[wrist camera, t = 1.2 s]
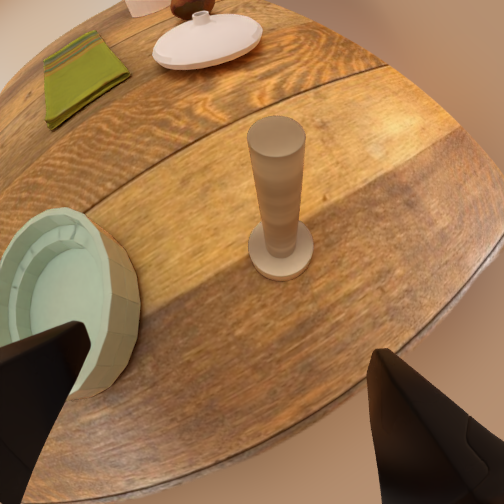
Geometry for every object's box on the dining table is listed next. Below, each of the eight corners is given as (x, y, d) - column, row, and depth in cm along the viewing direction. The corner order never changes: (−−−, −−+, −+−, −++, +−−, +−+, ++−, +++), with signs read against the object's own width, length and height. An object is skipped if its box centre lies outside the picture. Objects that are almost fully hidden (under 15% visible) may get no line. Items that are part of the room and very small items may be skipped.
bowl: (162, 389, 19) (131, 397, 15) (33, 398, 20) (-1, 399, 15) (133, 207, 25) (107, 180, 20) (23, 255, 25) (-6, 240, 21)
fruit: (222, 18, 38) (215, -17, 30) (179, 31, 38) (168, -3, 30) (212, 8, 41) (205, -22, 33) (173, 20, 40) (163, -10, 33)
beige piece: (320, 270, 21) (361, 169, 9) (259, 289, 21) (227, 204, 9) (300, 216, 23) (311, 87, 11) (243, 232, 23) (203, 112, 11)
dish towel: (98, 34, 45) (93, 25, 42) (133, 76, 34) (126, 60, 31) (46, 70, 44) (41, 61, 41) (51, 135, 32) (40, 122, 29)
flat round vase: (161, 96, 31) (143, 54, 24) (156, 49, 36) (143, 17, 29) (280, 63, 31) (278, 18, 24) (246, 23, 36) (241, -10, 29)
